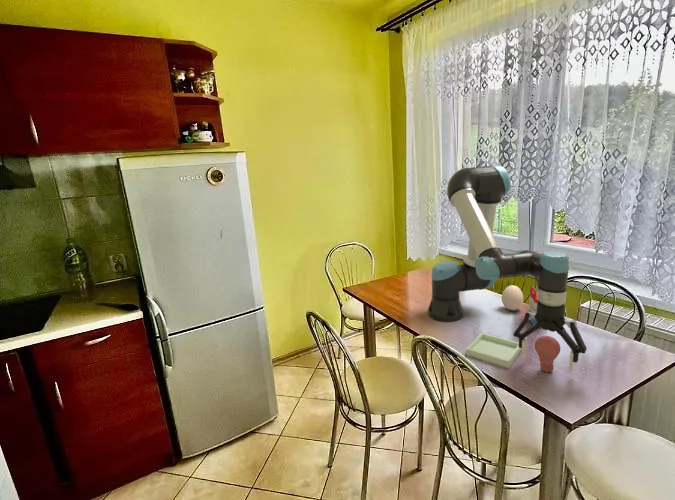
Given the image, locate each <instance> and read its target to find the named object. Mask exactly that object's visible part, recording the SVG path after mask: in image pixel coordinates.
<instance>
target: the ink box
mask: <svg viewBox="0 0 675 500" xmlns="http://www.w3.org/2000/svg"><path fill="white" fill-rule="evenodd" d="M537 301H538V291H537V290H536V289H535V288H534V287H533V286H532V285H530V287H529V300H528V311H531V313H534V314H536V313H537ZM529 321H530V322H531V324H532V326H533V325H535V324H536V323H537V321H536V320H535V318H532V319H531V320H530V319H529Z"/></svg>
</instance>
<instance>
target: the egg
mask: <svg viewBox="0 0 675 500" xmlns="http://www.w3.org/2000/svg"><path fill="white" fill-rule="evenodd" d="M501 302H502V305H503V306H504V307H505V308H506V309H507V310H509V311H517V310H519V309H520V308H521V307H522V305H523V303H524V294H523V292H522V290H521V288H520V287H518V286H516V285H512V284H511V285H508V286H506V287H505V289H504V290H503V292H502V294H501Z"/></svg>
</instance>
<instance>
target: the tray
mask: <svg viewBox="0 0 675 500" xmlns="http://www.w3.org/2000/svg"><path fill="white" fill-rule="evenodd" d="M520 353H522V348H519V341H514V340H513V339H512V340H511V339H508V338H504V337H499V336H495V335H492V334H488V333H484V332H480V333H479V335H477V337H476V338H474V340H473V341H472V342H471V343H470V344H469V345H468V346H467V347H466V348H465V356H467V357H470V358H474V359H478V360H480V361H484V362H487V363H491V364H492V365H495V366H499V367H503V368H506V369H510V367H511V366H512V365H513V363H514V362H515V360H516V359H517V357H518V356H519V355H520Z"/></svg>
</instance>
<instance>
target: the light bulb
mask: <svg viewBox="0 0 675 500" xmlns="http://www.w3.org/2000/svg"><path fill="white" fill-rule="evenodd" d="M534 349H535V351H536V354H537V355H538V358H539V359H538V360H539V362H540V363H539V366H540V370H541V371H543V372H547V373H550V372H553V371H554V368H555V367H554V361H555V360H556V358H557V357H558V356H559V355H560V353H561V345H560V342H559V341H558V340H557V339H556V338H555V337H553V336H551V335H542V336H540V337H538V338H537V339H536V341H535V342H534Z"/></svg>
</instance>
